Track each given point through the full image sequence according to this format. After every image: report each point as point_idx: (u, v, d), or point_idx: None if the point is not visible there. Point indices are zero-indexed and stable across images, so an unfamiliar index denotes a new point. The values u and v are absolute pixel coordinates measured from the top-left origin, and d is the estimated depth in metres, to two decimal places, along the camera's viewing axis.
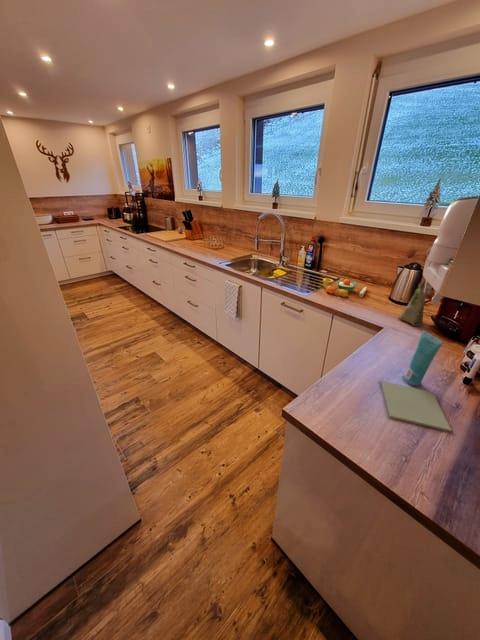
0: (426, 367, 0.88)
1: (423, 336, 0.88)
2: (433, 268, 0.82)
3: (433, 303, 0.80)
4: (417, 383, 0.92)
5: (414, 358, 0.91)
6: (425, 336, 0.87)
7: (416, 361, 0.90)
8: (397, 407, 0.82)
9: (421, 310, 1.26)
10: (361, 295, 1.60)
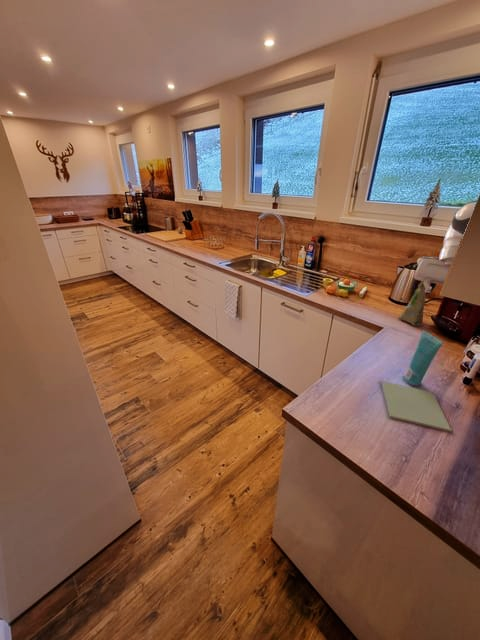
0: (426, 367, 0.88)
1: (423, 336, 0.88)
2: None
3: (425, 290, 0.92)
4: (417, 383, 0.92)
5: (414, 358, 0.91)
6: (425, 336, 0.87)
7: (416, 361, 0.90)
8: (397, 407, 0.82)
9: (421, 310, 1.26)
10: (361, 295, 1.60)
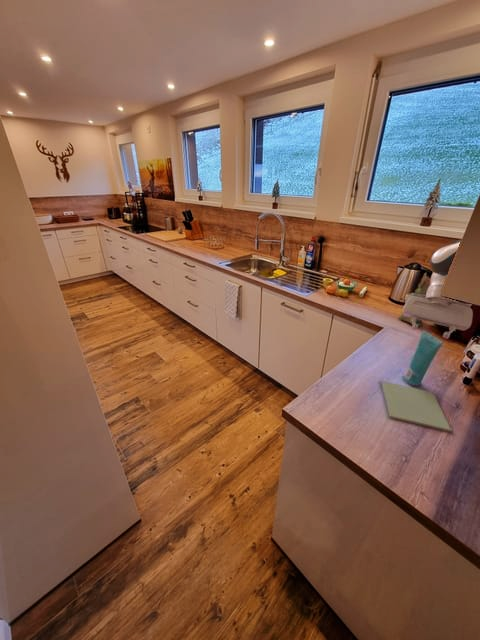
0: (426, 367, 0.88)
1: (423, 336, 0.88)
2: None
3: (412, 328, 0.95)
4: (417, 383, 0.92)
5: (414, 358, 0.91)
6: (425, 336, 0.87)
7: (416, 361, 0.90)
8: (397, 407, 0.82)
9: None
10: (361, 295, 1.60)
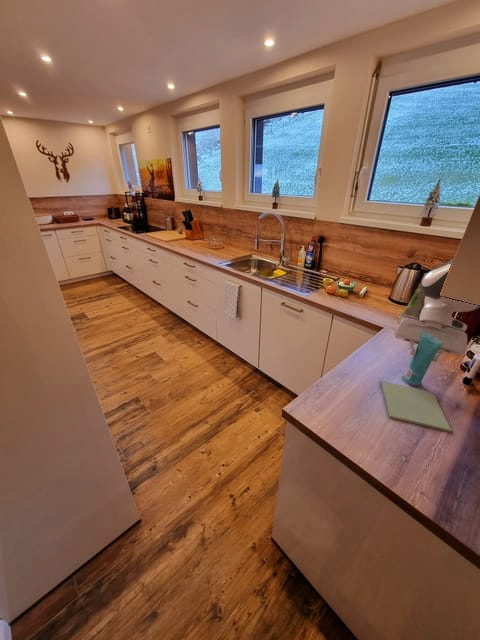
0: (426, 367, 0.88)
1: (423, 336, 0.88)
2: None
3: (410, 353, 0.91)
4: (417, 383, 0.92)
5: (414, 358, 0.91)
6: (425, 336, 0.87)
7: (416, 361, 0.90)
8: (397, 407, 0.82)
9: None
10: (361, 295, 1.60)
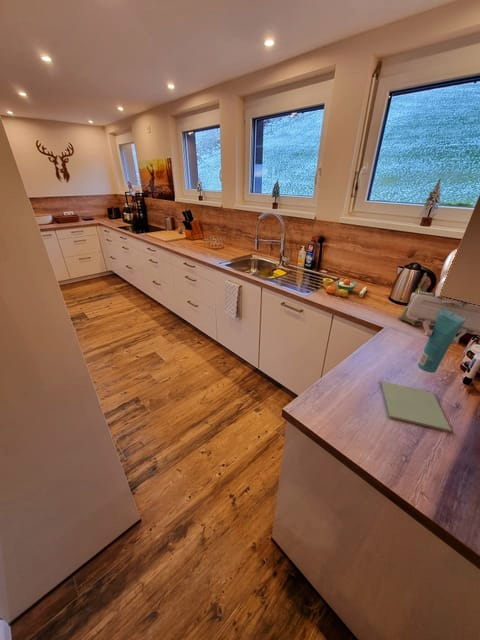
0: (444, 350, 0.75)
1: (441, 314, 0.75)
2: None
3: None
4: (433, 370, 0.79)
5: (430, 340, 0.78)
6: (443, 314, 0.74)
7: (432, 344, 0.77)
8: (397, 407, 0.82)
9: None
10: (361, 295, 1.60)
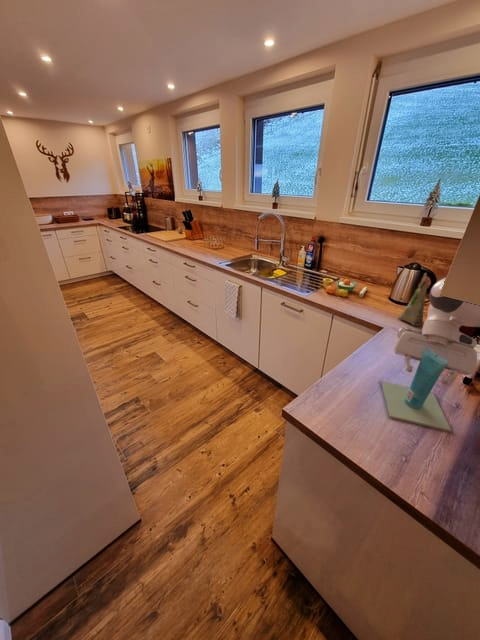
0: (429, 389, 0.77)
1: (425, 354, 0.77)
2: None
3: None
4: (419, 406, 0.81)
5: (415, 378, 0.80)
6: (428, 354, 0.77)
7: (418, 382, 0.79)
8: (397, 407, 0.82)
9: (421, 310, 1.26)
10: (361, 295, 1.60)
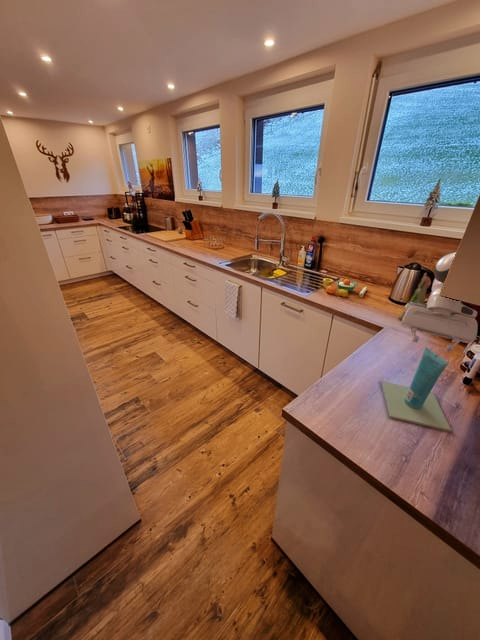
0: (429, 389, 0.77)
1: (425, 354, 0.77)
2: None
3: (412, 340, 0.88)
4: (419, 406, 0.81)
5: (415, 378, 0.80)
6: (428, 354, 0.77)
7: (418, 382, 0.79)
8: (397, 407, 0.82)
9: None
10: (361, 295, 1.60)
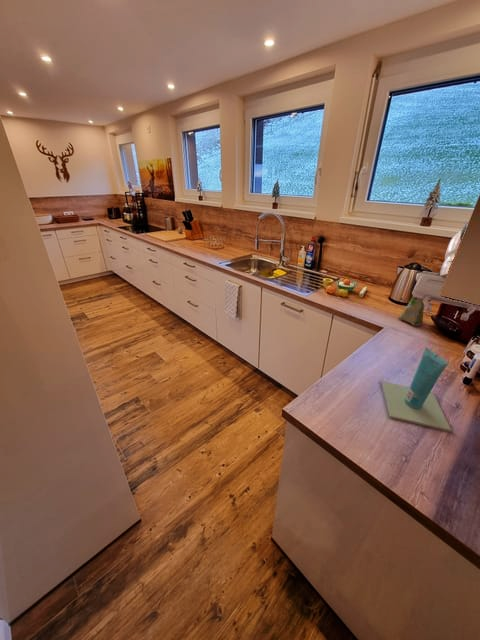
0: (429, 389, 0.77)
1: (425, 354, 0.77)
2: None
3: (424, 309, 0.83)
4: (419, 406, 0.81)
5: (415, 378, 0.80)
6: (428, 354, 0.77)
7: (418, 382, 0.79)
8: (397, 407, 0.82)
9: (421, 310, 1.26)
10: (361, 295, 1.60)
